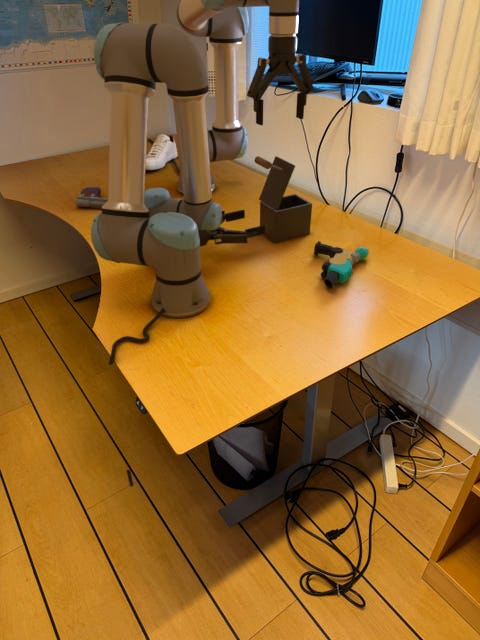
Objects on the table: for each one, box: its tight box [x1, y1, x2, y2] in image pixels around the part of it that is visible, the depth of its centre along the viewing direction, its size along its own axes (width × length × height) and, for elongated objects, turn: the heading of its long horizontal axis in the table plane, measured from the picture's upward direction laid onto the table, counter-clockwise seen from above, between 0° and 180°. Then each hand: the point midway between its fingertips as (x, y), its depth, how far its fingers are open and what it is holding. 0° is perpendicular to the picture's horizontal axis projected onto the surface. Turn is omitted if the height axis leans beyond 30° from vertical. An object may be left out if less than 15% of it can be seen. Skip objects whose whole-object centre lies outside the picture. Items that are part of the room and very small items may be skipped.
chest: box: [259, 193, 313, 244], centre depth 155 cm, size 14×10×11 cm
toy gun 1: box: [74, 186, 108, 209], centre depth 180 cm, size 4×19×15 cm
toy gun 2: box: [313, 240, 370, 290], centre depth 137 cm, size 4×26×15 cm
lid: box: [254, 155, 296, 210], centre depth 144 cm, size 14×10×9 cm
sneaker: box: [145, 133, 179, 171], centre depth 214 cm, size 10×29×12 cm, turn 163°
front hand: (254, 221), depth 150 cm, fingers open, 13 cm apart
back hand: (279, 121), depth 136 cm, fingers open, 13 cm apart
